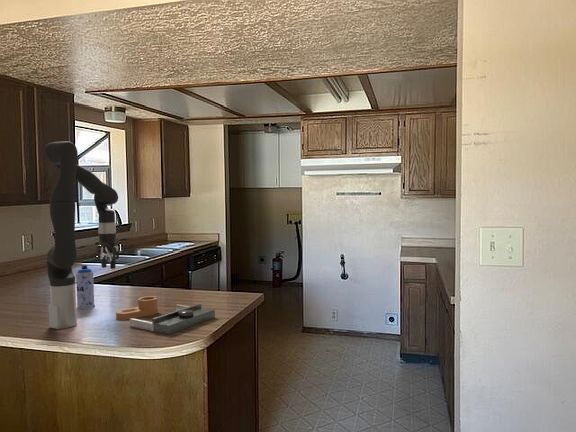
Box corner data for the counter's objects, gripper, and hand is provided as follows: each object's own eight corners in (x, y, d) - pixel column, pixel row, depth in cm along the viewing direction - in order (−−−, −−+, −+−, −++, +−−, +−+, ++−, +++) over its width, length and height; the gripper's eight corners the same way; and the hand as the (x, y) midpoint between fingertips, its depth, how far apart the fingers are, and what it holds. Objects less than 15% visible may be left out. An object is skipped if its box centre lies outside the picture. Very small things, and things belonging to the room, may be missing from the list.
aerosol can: (73, 308, 206) (71, 266, 205) (85, 304, 214) (84, 264, 212) (85, 309, 203) (84, 267, 202) (98, 305, 211) (97, 264, 210)
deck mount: (169, 334, 165) (168, 321, 165) (129, 326, 177) (129, 313, 176) (214, 317, 188) (214, 305, 187) (177, 310, 199) (177, 299, 199)
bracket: (154, 310, 202) (153, 295, 202) (160, 313, 195) (160, 298, 195) (113, 316, 191) (113, 301, 191) (119, 321, 185) (118, 305, 184)
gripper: (90, 232, 202) (91, 268, 203) (110, 233, 195) (111, 270, 196) (104, 231, 209) (105, 265, 210) (124, 232, 201) (125, 268, 202)
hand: (108, 267), depth 203 cm, fingers open, 5 cm apart
